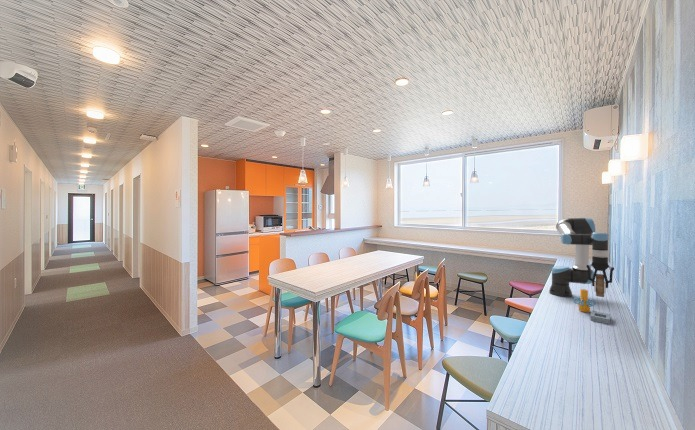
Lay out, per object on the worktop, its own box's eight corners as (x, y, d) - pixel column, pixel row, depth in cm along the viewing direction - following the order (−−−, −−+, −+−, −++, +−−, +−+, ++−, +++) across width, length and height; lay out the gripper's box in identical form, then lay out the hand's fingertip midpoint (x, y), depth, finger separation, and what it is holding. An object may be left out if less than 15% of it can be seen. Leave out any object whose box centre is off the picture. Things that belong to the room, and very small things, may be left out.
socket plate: (592, 314, 186) (592, 310, 186) (610, 318, 180) (610, 314, 180) (590, 320, 178) (590, 315, 178) (609, 324, 172) (609, 319, 172)
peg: (596, 294, 181) (596, 273, 180) (604, 295, 178) (604, 274, 178) (595, 296, 178) (595, 274, 178) (604, 297, 175) (604, 275, 175)
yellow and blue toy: (599, 314, 188) (599, 292, 187) (584, 314, 188) (584, 292, 188) (584, 307, 200) (584, 287, 200) (570, 307, 200) (569, 287, 200)
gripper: (582, 255, 181) (582, 290, 181) (618, 258, 169) (618, 296, 169) (583, 254, 186) (583, 288, 187) (618, 256, 174) (618, 293, 174)
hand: (600, 291), depth 178 cm, fingers closed on peg, 4 cm apart
